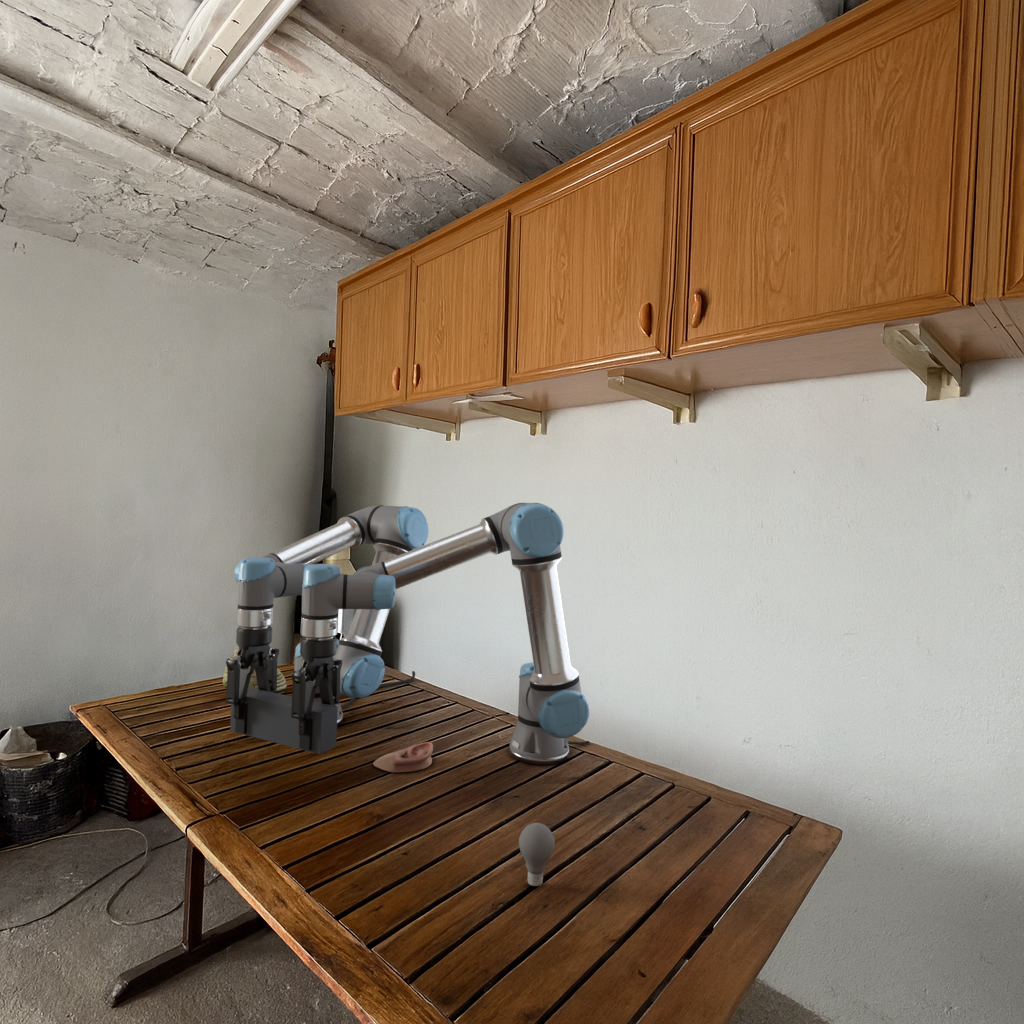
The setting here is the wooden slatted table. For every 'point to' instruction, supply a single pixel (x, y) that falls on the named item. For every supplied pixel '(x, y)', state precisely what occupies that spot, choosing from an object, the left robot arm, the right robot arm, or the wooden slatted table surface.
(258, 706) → the bar
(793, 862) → the wooden slatted table surface
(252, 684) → the fossil
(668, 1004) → the wooden slatted table surface
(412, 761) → the anatomical model
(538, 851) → the light bulb
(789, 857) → the wooden slatted table surface
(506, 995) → the wooden slatted table surface
